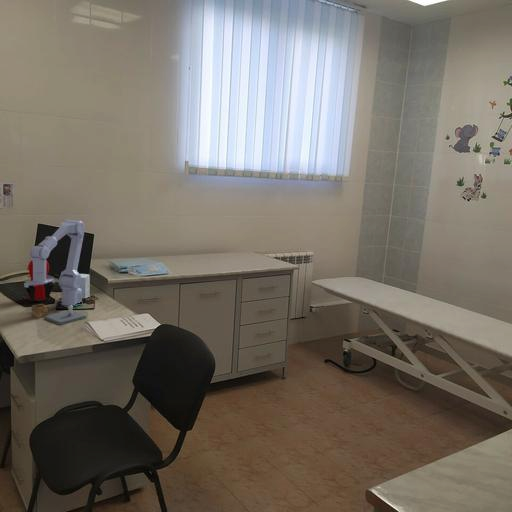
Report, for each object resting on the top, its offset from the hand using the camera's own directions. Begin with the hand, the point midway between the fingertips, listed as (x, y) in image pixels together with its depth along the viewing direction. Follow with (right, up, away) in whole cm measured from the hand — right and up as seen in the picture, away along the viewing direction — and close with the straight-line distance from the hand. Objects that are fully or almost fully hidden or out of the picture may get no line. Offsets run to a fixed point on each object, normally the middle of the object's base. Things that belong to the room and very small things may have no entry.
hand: (39, 299), depth 235 cm
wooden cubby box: (-1, -8, +2) cm, 8 cm away
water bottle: (-13, -2, +27) cm, 30 cm away
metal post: (+14, -9, +2) cm, 17 cm away
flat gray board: (+12, -9, +1) cm, 15 cm away
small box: (+8, -3, +34) cm, 35 cm away
